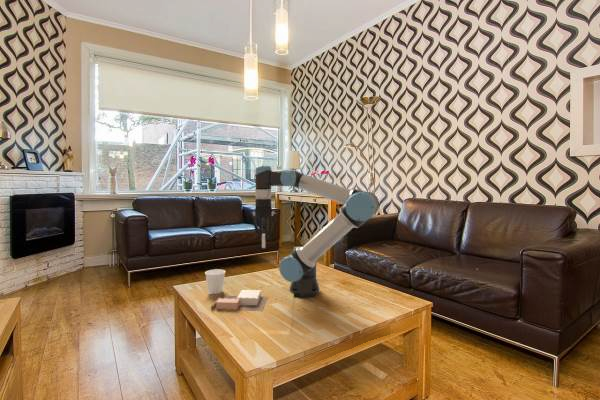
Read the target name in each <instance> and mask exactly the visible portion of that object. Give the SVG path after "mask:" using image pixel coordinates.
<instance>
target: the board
mask: <svg viewBox="0 0 600 400" xmlns="http://www.w3.org/2000/svg"><path fill="white" fill-rule="evenodd" d="M237 297H238V295H225V292H223V291H222V292H221V294H219V296H218V297H217V299H216V300H215V301H214V302H213V304H212V305H211V306H210V310H212V311H214V310H215V311H232V310H231V309H216V302H217V301H218V299H219V298H237ZM268 299H269V296H262V295H261V297H260V300H259V302H258V304H257V305H240V306H239V308H238V309H237V310H236V311H245V312H246V311H249V312H250V311H251V312H263V311H264V309H265V307H266V304H267V302H268Z"/></svg>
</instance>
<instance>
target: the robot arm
mask: <svg viewBox="0 0 600 400" xmlns="http://www.w3.org/2000/svg"><path fill="white" fill-rule="evenodd" d="M254 172H255V174H254V177H255V184H254V185H255V190H254V194H255V198H256V199H255V202H254V203H255V208H254V211H252V212H250V214H249V216H250V217H251V218H252V223H253V227H254V230H255V233H256V234H259V241H260V242H261V249H266V245H267V244H266V241H267V242H268V239H269V235H268V234H271V233H272V230H273V228H274V227H273V226H274V223H275V218H276V216H277V214H278V213H277V212H274V211H273V209H272V199H271V198H272V187H293V188H296V189H298V190H302V191H305V192H309V193H311V194H313V195H317V196H319V197H322V198H325V199H327V200H330V201H332V202H337V203H339V204H341V206H340V207H339V213H338V214H337V215H336V216H334V218H332V220H330V221H329V222H328V223H327V224H326V225H325V226H324V227H323V228H322V229H321V230H320V231H318V232H317V233H316V234H315V235H314V236H313V237H311V239H309V240H308V241H307V242H306V243H305V244H304V245H303V246H294V247H293V250H292V251H291V253H289V254H288V255H287V256H285V257H283V258H282V259H281V261H280V262H279V265H278V267H279V274H280V275H281V277H282V278H283V279H284V280H285V281H288V282H290V285H289V292H290V293H291V294H293V296H294V297H297V298H312V296H313V297H316V296H318V295H320V286H319V282H318V279H317V260H318V259H320V258H321V257H322V256H323V255H325V253H327V251H328V250H330V249H331V248H332V247H333V246H334V245H335V244H336V243H337V242H339V241H340V240H341V239H342V238H344V236H345V235H347V234H348V233H349V232H350V231H351V230H352V229H353V228H355V229H358V228H360V227H361V226H362V225H364V224H365V223H366V222H367V221H368V220H369V219H371V217H373V216H374V215H376V214H377V212H378V211H379V209H380V201H379V199H378V197H377V196H376V195H375V194H374V193H373V192H370V191H363V190H360V189H356V188H353V189H349V188H346V187H344V186H340V185H337V184H334V183H331V182H329V181H325V180H323V179H319V178H316V177H313V176H310V175H307V174H305V173H304V174H303V173H302V172H299V171H296V170H293V169H272V166H270V165H257V166H256V167H255V171H254ZM256 216H257V217H258V219H259V220H258V221H259V222H258V223H259V226H258V224H257V219H256ZM270 216H271V219H270V225H269V222H268V220H269V217H270ZM263 219H264V233H263ZM317 294H318V295H317ZM315 295H316V296H315Z"/></svg>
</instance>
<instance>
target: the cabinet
mask: <svg viewBox="0 0 600 400" xmlns="http://www.w3.org/2000/svg"><path fill="white" fill-rule="evenodd" d="M239 306H240V298H219V299H218V301H217V302H216V309H231V310H230V311H238V310H237V309H238V308H239Z"/></svg>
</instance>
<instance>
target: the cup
mask: <svg viewBox="0 0 600 400" xmlns="http://www.w3.org/2000/svg"><path fill="white" fill-rule="evenodd" d="M204 274H205V278H206V284H207V290H208V295H209V296H211V295H213V294H214V295H216V294H220V293H221V294H222V292H223V289H224V288H223V287H224V282H225V275H226V270H224V269H222V268H220V269H218V268H215V269H210V270H209V269H208V270H206V271H204Z"/></svg>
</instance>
